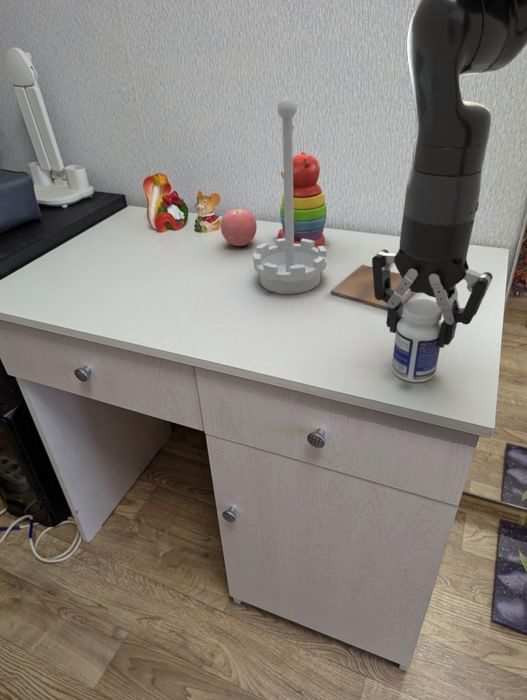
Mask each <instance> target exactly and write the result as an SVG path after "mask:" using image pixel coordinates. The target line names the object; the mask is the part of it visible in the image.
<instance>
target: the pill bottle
mask: <svg viewBox="0 0 527 700" xmlns="http://www.w3.org/2000/svg"><path fill="white" fill-rule="evenodd" d="M442 318H443V315H442V311H441V309H440V308H439V307H438V305H437V301H436V300H435V301H434V300H431V299H427V298H413V299H410V300H407V301H406V302H405V303H404V306H403V313H402V318H401V319H400V320H399V321H398V323H397V328H396V333H395V335H394V337H395V338H394V345H393V353H392V363H391V365H392V366H391V369H392V371H393V373H394V374H395V375H396V377H398V378H399V379H401V380H403V381H407V382H411V383H423V382H426V381H429V380H430V379H432V378H433V377H434V376H435V374H436V371H437V367H438V361H439V354H440V350H441V348H440V347H437V344H438V338H439V333H440V328H441V323H442V321H441V320H442Z"/></svg>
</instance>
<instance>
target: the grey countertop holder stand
mask: <svg viewBox="0 0 527 700" xmlns="http://www.w3.org/2000/svg"><path fill="white" fill-rule="evenodd" d="M297 109H298V106H297V103H296V101H295V100H294V99H293V98H292V97H283V98H282V99H280V100H279V102H278V104H277V114H278V116H279V117H280V118H281V123H282V124H281V125H282V163H283V165H282V166H283V169H282V170H283V171H284V180H283V193H284V214H285V238H282V239H278V238H275V244H274V245H271V246H269V243H266V242H263V243H261V244H259V245H258V246H257V247H256V249H255V250H256V253H252V257H253V269H254V271H255V272H256V273H257V274H258V275H259V278H260V279H259V280H260V285H261V286H262V287H263V288H264V289H266V290H268V291H270V292H273V293H277V294H282V295H283V294H284V295H294V294H302V293H306V292H309V291H311V290H314V289H315V288H316V287H318V285H320V283H321V274H322V273H323V272H324V271H325V269H326V268H327V258H328V257H327V256H328V250H327V248H326V247H325V246H324V245H323V246H318V248H316V247H314V241H312V240H309V239H302V240H301V244H294V218H293V157H294V149H293V146H294V145H293V141H294V139H293V137H294V136H293V133H294V125H293V117H295V115H296V113H297V111H298V110H297Z"/></svg>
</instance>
